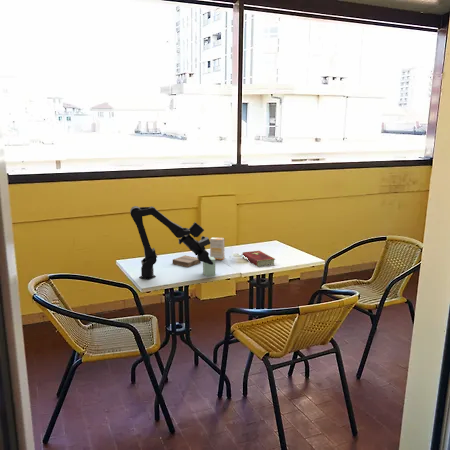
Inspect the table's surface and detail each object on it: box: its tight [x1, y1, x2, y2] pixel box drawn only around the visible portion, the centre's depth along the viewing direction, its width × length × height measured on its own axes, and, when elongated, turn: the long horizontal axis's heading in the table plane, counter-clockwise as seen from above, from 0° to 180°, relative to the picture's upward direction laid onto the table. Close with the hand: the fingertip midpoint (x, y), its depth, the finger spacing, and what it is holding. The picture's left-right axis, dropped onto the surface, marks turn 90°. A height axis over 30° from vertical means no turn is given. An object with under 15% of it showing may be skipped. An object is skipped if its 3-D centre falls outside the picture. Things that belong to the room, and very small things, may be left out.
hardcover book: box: [241, 250, 276, 267], centre depth 282 cm, size 12×21×4 cm, turn 22°
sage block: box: [202, 256, 216, 277], centre depth 255 cm, size 6×6×9 cm
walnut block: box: [172, 255, 201, 268], centre depth 276 cm, size 12×12×3 cm
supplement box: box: [209, 236, 226, 261], centre depth 285 cm, size 8×5×13 cm, turn 74°
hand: (211, 261), depth 255 cm, fingers open, 9 cm apart
